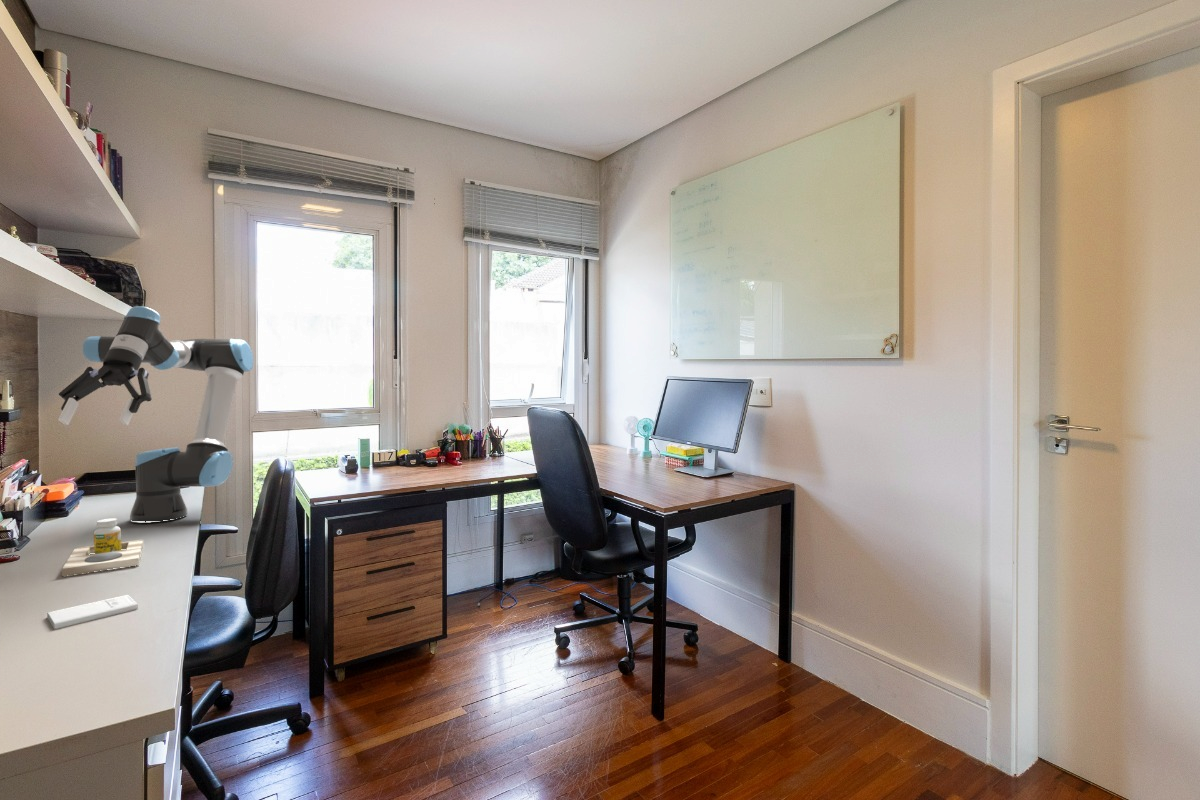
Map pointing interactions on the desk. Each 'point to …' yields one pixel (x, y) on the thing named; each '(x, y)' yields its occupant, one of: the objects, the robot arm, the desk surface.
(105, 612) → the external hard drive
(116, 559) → the puzzle board
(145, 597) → the desk surface
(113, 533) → the supplement bottle
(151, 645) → the desk surface
